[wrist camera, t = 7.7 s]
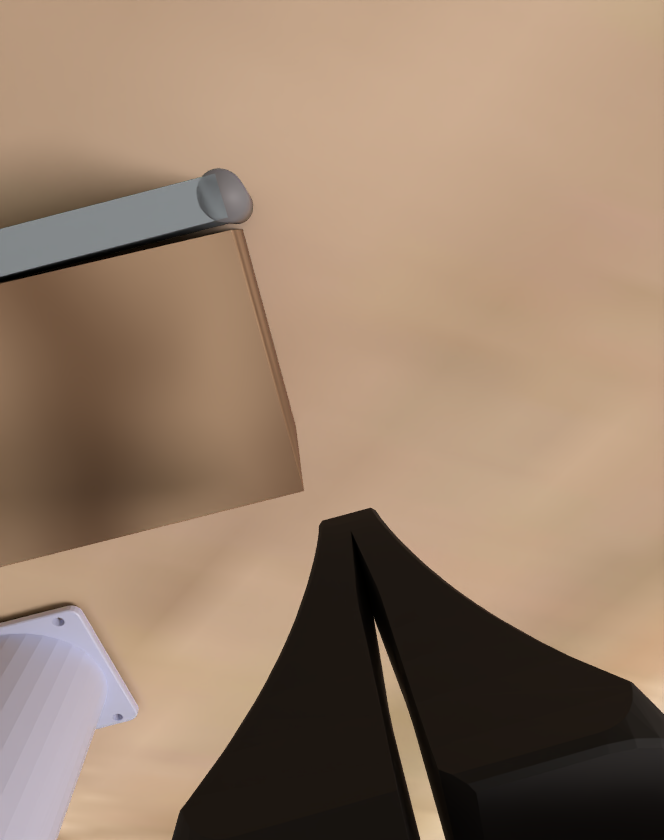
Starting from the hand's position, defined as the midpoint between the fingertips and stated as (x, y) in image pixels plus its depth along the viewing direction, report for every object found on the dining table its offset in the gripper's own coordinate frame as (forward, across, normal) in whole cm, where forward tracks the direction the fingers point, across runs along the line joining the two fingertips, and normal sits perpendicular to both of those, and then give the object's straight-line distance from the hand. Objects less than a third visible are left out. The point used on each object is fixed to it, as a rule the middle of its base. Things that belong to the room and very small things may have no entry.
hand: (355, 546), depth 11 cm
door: (+9, +7, -8) cm, 14 cm away
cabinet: (+9, +7, -4) cm, 12 cm away
